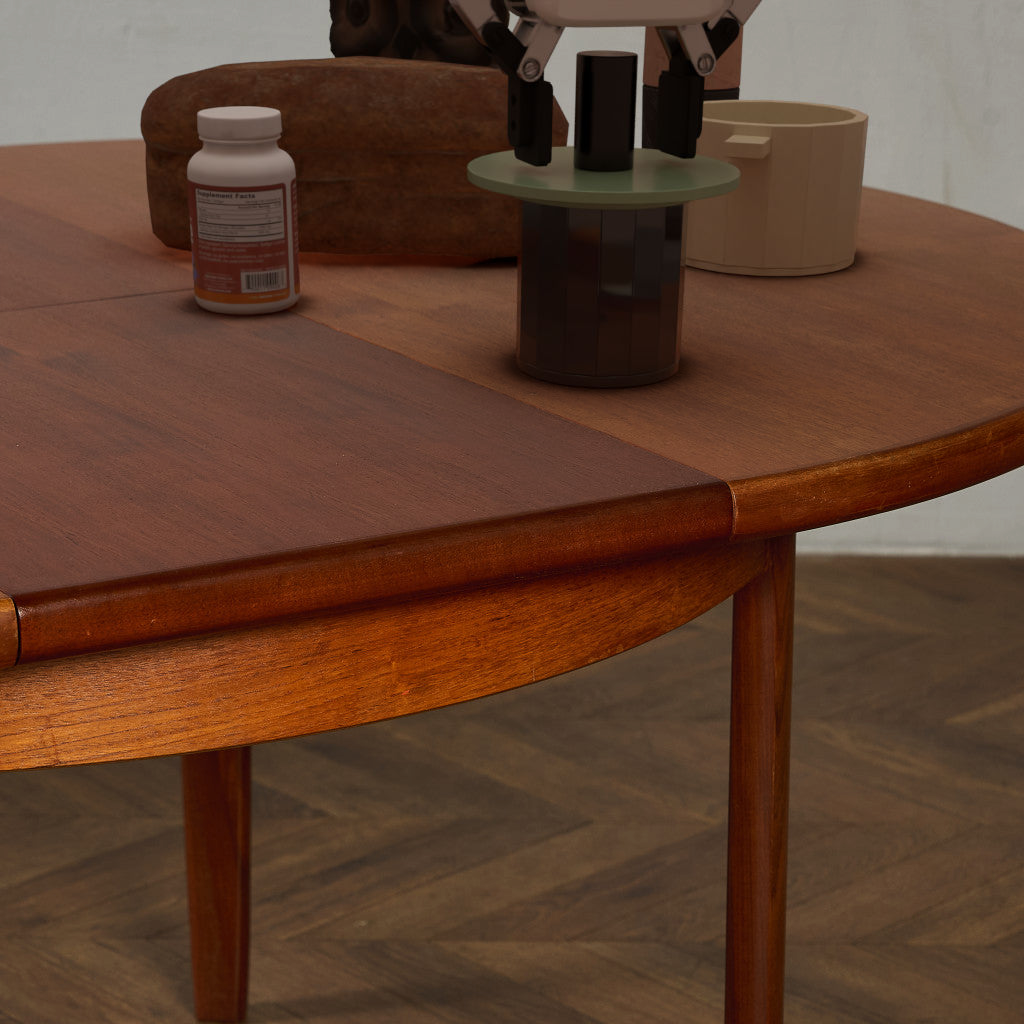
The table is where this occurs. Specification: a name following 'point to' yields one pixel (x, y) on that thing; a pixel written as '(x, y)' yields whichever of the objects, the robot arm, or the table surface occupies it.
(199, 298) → the pill bottle
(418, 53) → the owl
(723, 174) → the lid
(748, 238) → the pot
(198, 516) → the table surface
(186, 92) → the bread
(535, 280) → the cup
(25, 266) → the table surface
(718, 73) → the travel mug
